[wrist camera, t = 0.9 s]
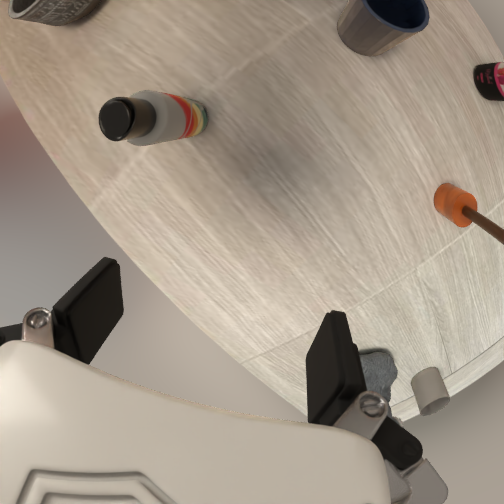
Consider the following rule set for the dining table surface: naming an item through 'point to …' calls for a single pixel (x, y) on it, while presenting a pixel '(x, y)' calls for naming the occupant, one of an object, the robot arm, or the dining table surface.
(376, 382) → the koala plush
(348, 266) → the dining table surface
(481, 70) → the beverage can
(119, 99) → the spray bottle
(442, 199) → the plunger
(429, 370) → the cup
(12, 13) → the planter
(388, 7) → the tumbler
